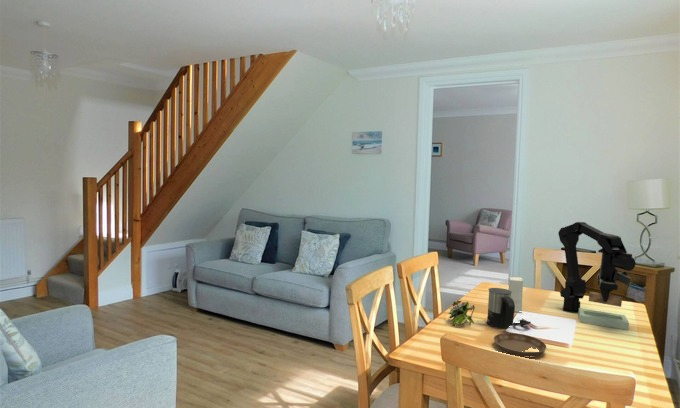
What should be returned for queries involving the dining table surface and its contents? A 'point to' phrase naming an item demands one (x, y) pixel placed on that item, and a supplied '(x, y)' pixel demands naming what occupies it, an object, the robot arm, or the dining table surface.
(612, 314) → the sage cradle
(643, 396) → the dining table surface
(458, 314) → the green leafy plant
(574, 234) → the robot arm
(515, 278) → the skincare box
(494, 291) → the milk frother
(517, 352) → the plant saucer
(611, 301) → the walnut peg
